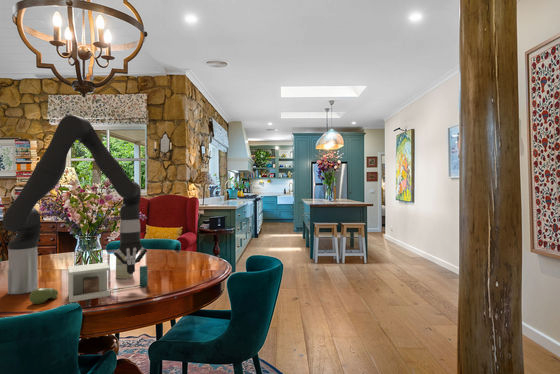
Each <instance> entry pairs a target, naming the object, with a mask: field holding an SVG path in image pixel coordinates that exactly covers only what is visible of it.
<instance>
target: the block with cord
mask: <svg viewBox="0 0 560 374" xmlns="http://www.w3.org/2000/svg"><path fill="white" fill-rule="evenodd" d="M148 285H149V284H148V265H140V266H139V284H136V285H129V286H123V287H115V288H110V289H108V288H107V290H110V292H112V291H118V290H124V289H132V288H137V287H140V288H145V287H148ZM107 290H102V291H107ZM94 292H101V291H99V278H98V276H94V277H86V278H83V293H82V294H88V293H94Z"/></svg>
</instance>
